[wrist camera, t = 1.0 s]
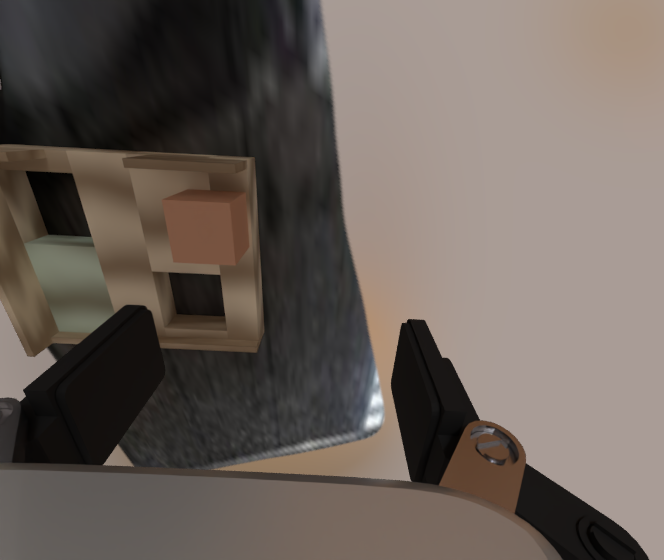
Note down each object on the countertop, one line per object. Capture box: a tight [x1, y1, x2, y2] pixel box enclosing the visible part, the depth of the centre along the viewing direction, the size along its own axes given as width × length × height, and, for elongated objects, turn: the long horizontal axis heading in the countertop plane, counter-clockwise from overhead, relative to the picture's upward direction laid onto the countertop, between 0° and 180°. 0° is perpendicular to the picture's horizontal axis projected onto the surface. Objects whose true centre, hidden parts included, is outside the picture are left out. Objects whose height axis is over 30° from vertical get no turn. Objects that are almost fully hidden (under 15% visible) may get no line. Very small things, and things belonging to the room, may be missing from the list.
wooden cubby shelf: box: [0, 144, 264, 357], centre depth 27 cm, size 17×20×6 cm
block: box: [162, 189, 250, 266], centre depth 23 cm, size 4×4×4 cm
